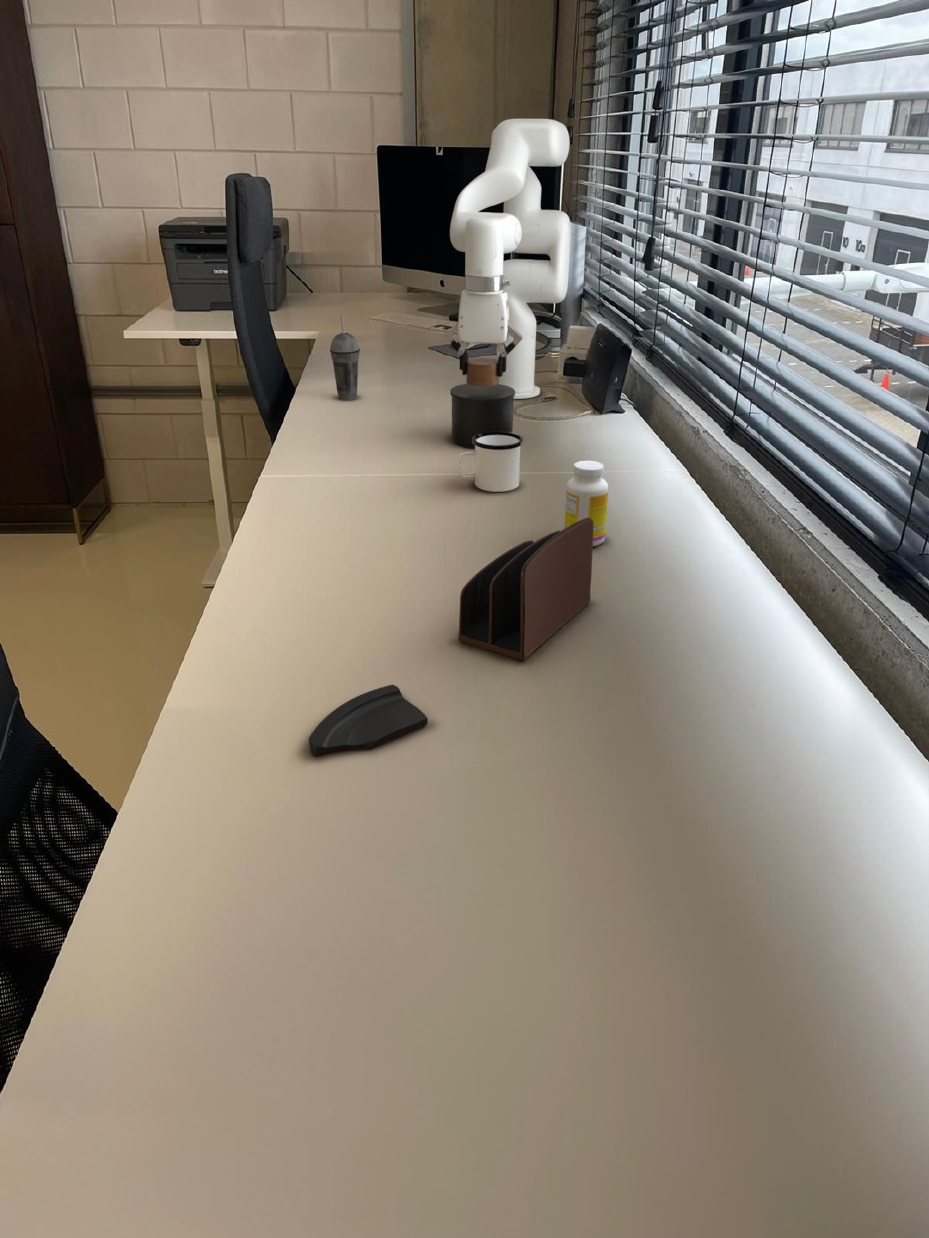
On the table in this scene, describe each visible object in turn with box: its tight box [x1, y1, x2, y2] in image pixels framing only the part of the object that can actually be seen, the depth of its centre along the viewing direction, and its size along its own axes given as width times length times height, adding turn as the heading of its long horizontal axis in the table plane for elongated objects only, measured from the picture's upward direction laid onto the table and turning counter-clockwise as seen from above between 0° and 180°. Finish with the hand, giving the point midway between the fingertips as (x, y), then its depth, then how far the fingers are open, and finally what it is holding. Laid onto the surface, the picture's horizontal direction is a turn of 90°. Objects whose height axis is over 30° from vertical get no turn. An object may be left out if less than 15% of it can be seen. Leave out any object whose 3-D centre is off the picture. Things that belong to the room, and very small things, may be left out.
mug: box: [458, 431, 524, 493], centre depth 176 cm, size 12×9×9 cm
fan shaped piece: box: [308, 684, 429, 758], centre depth 106 cm, size 8×14×2 cm, turn 125°
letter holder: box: [458, 517, 594, 662], centre depth 126 cm, size 10×20×14 cm, turn 148°
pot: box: [449, 383, 515, 450], centre depth 200 cm, size 14×14×11 cm
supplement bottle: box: [564, 460, 609, 547], centre depth 152 cm, size 7×7×13 cm
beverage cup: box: [329, 314, 361, 401], centre depth 228 cm, size 7×7×20 cm
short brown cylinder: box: [465, 357, 499, 386], centre depth 196 cm, size 7×7×4 cm
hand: (482, 373), depth 196 cm, fingers closed on short brown cylinder, 6 cm apart
